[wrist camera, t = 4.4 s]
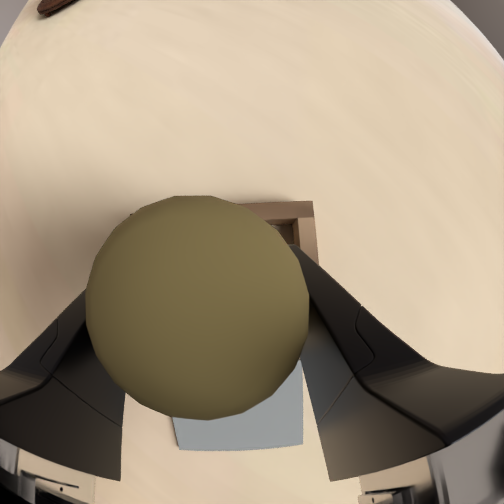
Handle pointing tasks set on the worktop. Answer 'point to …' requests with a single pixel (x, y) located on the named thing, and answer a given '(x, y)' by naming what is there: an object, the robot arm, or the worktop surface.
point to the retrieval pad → (251, 423)
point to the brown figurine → (50, 6)
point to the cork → (197, 308)
